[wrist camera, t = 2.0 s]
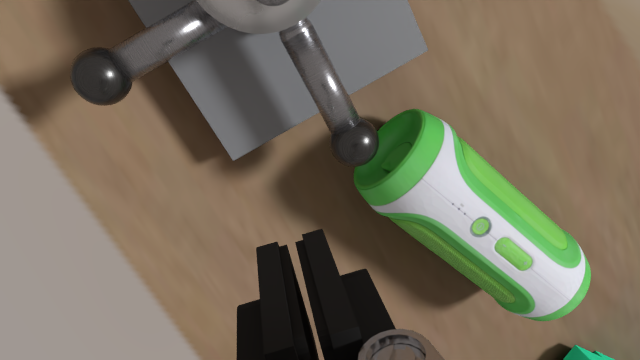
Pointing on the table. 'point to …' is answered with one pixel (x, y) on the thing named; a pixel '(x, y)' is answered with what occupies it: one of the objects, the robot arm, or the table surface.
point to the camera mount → (585, 355)
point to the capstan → (247, 16)
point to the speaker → (473, 217)
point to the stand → (285, 65)
